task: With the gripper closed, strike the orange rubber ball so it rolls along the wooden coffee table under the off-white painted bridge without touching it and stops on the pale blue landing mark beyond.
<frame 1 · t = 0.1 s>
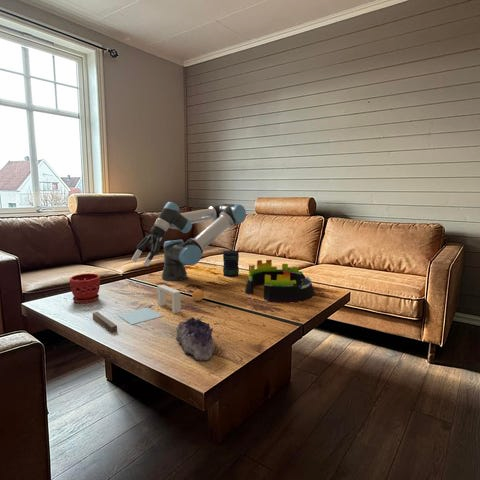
hand: (139, 263, 177), 15 cm above the table, fingers open, 13 cm apart
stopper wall: (104, 324, 135), on the table
bridge: (169, 308, 154), on the table
curved castle wall: (279, 292, 181), on the table
ball: (198, 295, 165), on the table
storage jar: (230, 275, 215), on the table
landing mark: (140, 315, 145), on the table
geode: (198, 349, 116), on the table
plant pot: (86, 301, 165), on the table
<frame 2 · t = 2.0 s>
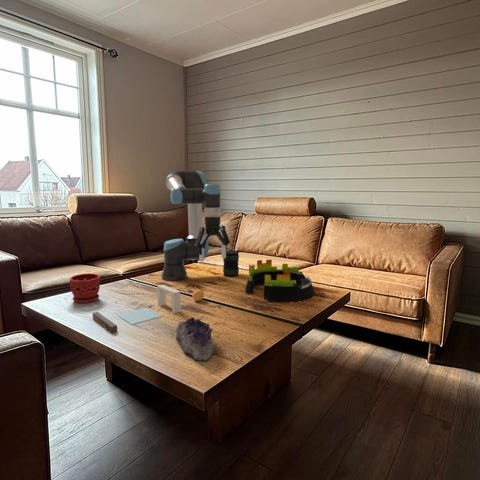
hand: (212, 259, 169), 19 cm above the table, fingers open, 13 cm apart
nothing on the table moved.
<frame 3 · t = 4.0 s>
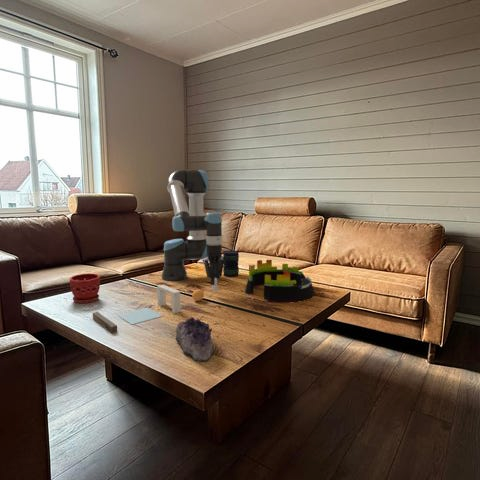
hand: (214, 290, 171), 3 cm above the table, fingers closed
nothing on the table moved.
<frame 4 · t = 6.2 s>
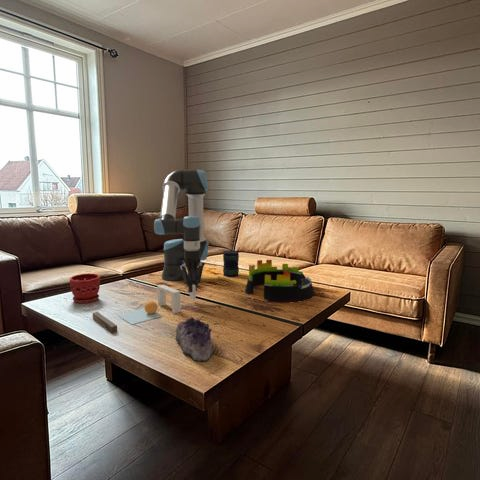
hand: (192, 298, 163), 2 cm above the table, fingers closed
ball: (151, 307, 147), on the table
everything else where it was.
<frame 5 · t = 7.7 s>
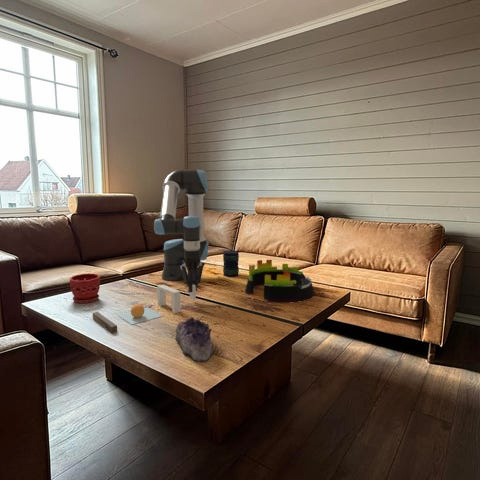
hand: (192, 298, 163), 2 cm above the table, fingers closed
ball: (137, 311, 143), on the table
everything else where it was.
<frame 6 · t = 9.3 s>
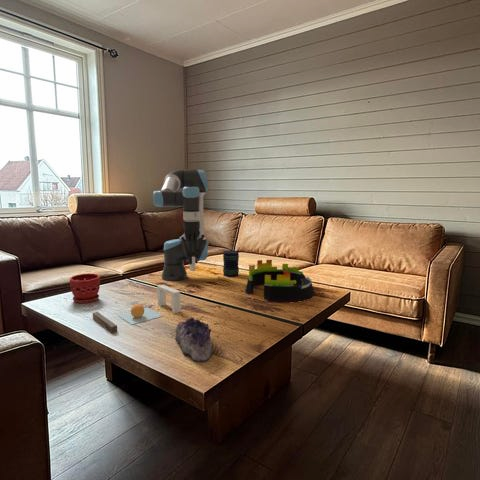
hand: (192, 270, 161), 15 cm above the table, fingers closed
nothing on the table moved.
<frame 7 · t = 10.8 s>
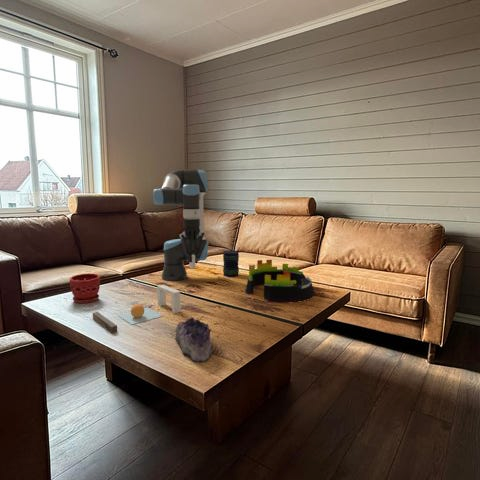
hand: (192, 268, 161), 16 cm above the table, fingers closed
nothing on the table moved.
at the end: ball 1.8 cm from the landing mark (horizontally); ball never touched bridge; ball at rest at the end (0.0 cm/s) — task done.
